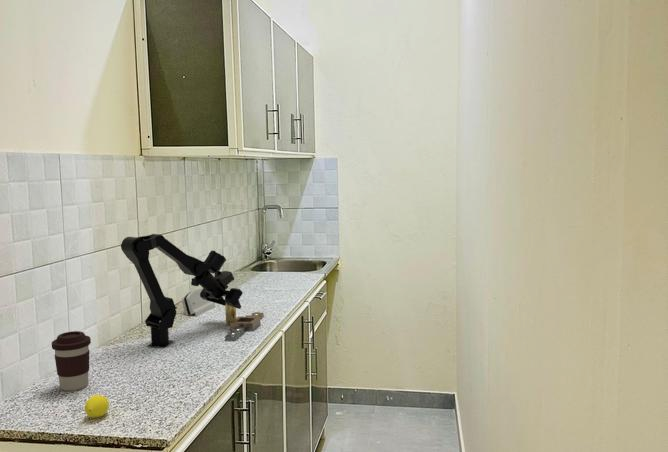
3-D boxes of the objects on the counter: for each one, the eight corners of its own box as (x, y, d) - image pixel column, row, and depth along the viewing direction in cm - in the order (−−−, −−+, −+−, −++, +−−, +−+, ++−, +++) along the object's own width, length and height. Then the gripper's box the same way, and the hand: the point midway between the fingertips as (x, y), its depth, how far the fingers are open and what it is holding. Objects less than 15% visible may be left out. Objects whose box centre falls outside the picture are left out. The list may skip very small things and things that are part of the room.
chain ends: (241, 341, 206) (241, 332, 206) (218, 340, 208) (217, 331, 208) (269, 316, 238) (269, 309, 238) (249, 315, 240) (248, 308, 239)
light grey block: (196, 316, 240) (188, 293, 240) (186, 319, 242) (178, 296, 242) (216, 306, 256) (208, 284, 256) (206, 309, 258) (198, 287, 258)
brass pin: (234, 325, 226) (233, 293, 225) (224, 325, 227) (223, 292, 225) (238, 322, 230) (236, 290, 229) (228, 322, 231) (227, 290, 229)
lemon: (93, 413, 151) (94, 391, 151) (114, 413, 150) (114, 392, 150) (78, 421, 144) (78, 398, 144) (99, 422, 143) (100, 399, 143)
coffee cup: (49, 386, 168) (45, 334, 166) (85, 377, 174) (81, 327, 173) (63, 396, 161) (59, 342, 159) (99, 386, 167) (95, 334, 166)
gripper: (237, 267, 217) (260, 292, 227) (204, 262, 229) (228, 286, 238) (221, 293, 212) (246, 316, 221) (188, 286, 223) (213, 309, 233)
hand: (233, 306), depth 229 cm, fingers open, 8 cm apart
